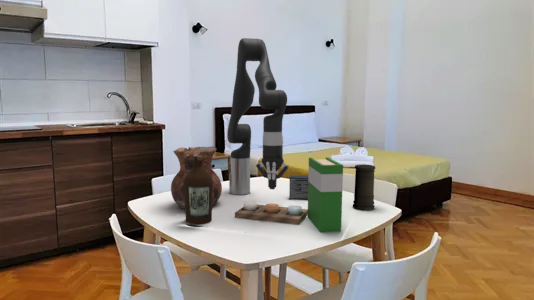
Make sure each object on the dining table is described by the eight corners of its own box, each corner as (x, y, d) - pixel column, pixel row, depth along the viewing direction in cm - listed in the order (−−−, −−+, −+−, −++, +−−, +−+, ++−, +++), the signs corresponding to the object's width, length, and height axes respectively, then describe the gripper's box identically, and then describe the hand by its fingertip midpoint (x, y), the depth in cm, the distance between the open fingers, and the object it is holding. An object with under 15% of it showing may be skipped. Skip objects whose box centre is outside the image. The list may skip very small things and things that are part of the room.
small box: (312, 196, 196) (312, 174, 194) (312, 200, 189) (312, 177, 188) (289, 196, 197) (290, 174, 195) (289, 199, 190) (289, 176, 189)
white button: (241, 210, 162) (241, 203, 162) (246, 207, 167) (246, 200, 166) (253, 211, 160) (253, 205, 160) (258, 208, 165) (258, 202, 165)
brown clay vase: (165, 202, 183) (164, 146, 180) (211, 197, 192) (210, 143, 189) (179, 216, 163) (178, 152, 160) (229, 209, 173) (229, 149, 170)
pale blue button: (286, 214, 156) (286, 208, 156) (290, 211, 161) (290, 205, 161) (299, 216, 155) (299, 209, 154) (302, 212, 159) (303, 206, 159)
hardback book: (307, 219, 160) (308, 157, 157) (326, 219, 161) (328, 157, 158) (319, 235, 142) (321, 165, 139) (340, 234, 143) (343, 165, 140)
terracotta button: (263, 212, 159) (263, 206, 159) (268, 209, 164) (268, 202, 163) (276, 213, 157) (276, 207, 157) (280, 210, 162) (280, 204, 162)
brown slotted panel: (234, 220, 158) (234, 212, 158) (248, 210, 172) (248, 203, 171) (299, 227, 150) (299, 219, 150) (308, 216, 164) (308, 209, 163)
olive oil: (183, 219, 158) (182, 154, 155) (211, 218, 161) (211, 153, 157) (184, 228, 148) (183, 158, 145) (214, 226, 151) (214, 157, 147)
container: (376, 206, 179) (378, 165, 177) (372, 211, 171) (373, 168, 169) (355, 204, 183) (356, 163, 181) (350, 209, 175) (351, 166, 173)
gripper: (252, 144, 156) (252, 189, 158) (286, 145, 152) (286, 192, 154) (259, 142, 163) (259, 185, 165) (292, 143, 159) (291, 188, 161)
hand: (272, 188), depth 159 cm, fingers closed
